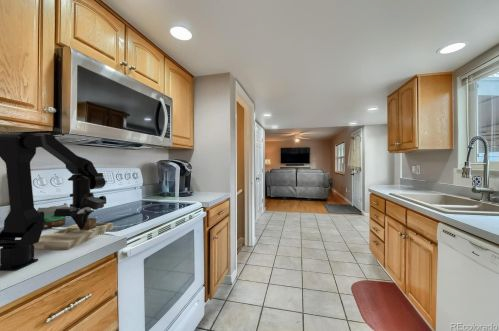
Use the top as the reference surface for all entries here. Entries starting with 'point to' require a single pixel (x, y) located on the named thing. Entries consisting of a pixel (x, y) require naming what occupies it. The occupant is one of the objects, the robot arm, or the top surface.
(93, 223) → the walnut block
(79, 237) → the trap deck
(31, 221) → the robot arm
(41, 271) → the top surface
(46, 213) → the food container
